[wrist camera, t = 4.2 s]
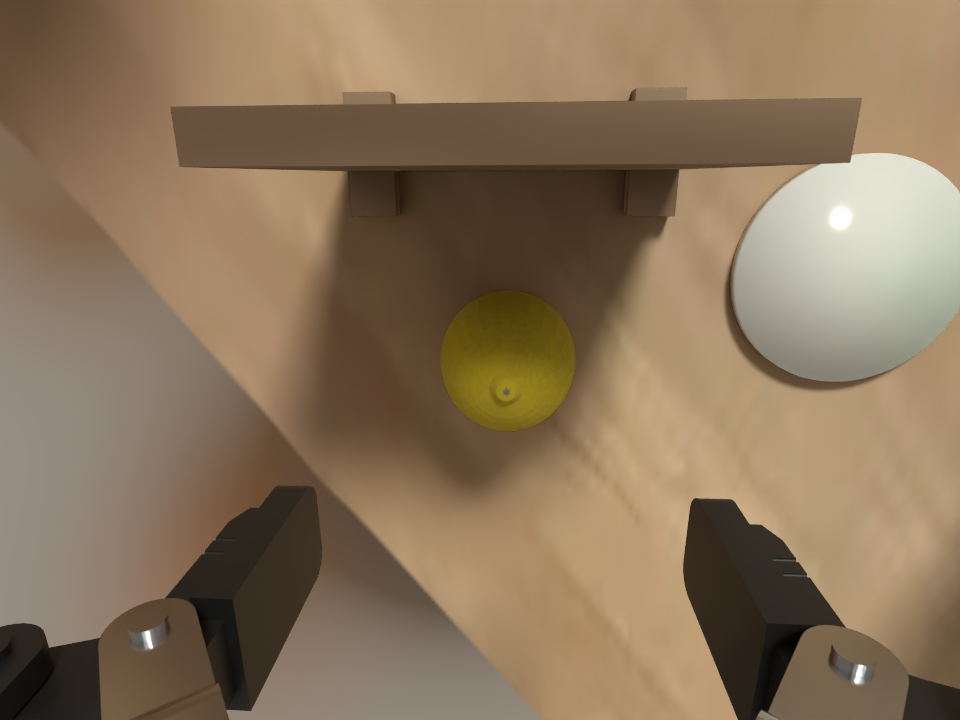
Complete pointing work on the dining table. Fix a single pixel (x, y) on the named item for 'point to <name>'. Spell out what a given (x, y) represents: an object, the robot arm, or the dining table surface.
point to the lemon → (508, 360)
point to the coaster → (850, 267)
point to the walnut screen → (519, 139)
